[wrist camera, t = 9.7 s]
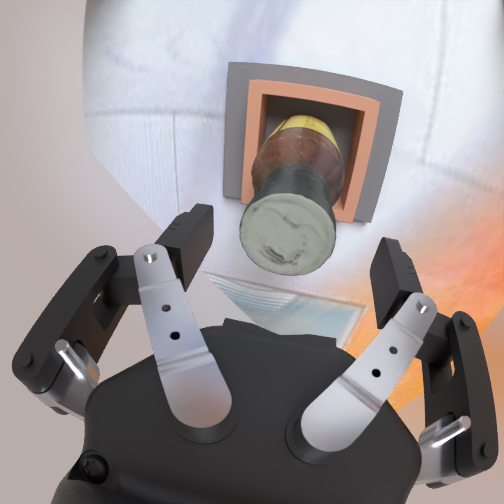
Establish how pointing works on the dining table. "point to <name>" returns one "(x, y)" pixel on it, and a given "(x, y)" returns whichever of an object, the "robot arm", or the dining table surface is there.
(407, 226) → the dining table surface
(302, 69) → the planter box on base
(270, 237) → the sauce bottle
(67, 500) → the robot arm
